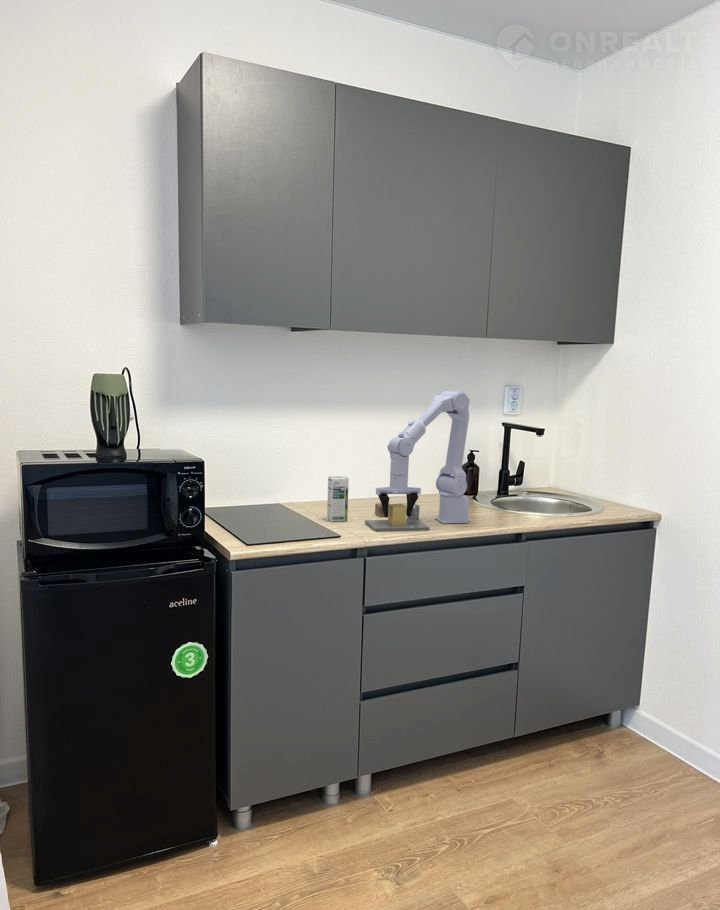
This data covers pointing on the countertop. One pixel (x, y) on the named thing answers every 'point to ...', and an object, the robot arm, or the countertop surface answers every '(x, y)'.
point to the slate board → (385, 526)
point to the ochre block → (397, 514)
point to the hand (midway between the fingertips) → (397, 516)
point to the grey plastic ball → (404, 504)
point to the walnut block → (379, 510)
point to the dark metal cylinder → (414, 513)
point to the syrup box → (337, 498)
